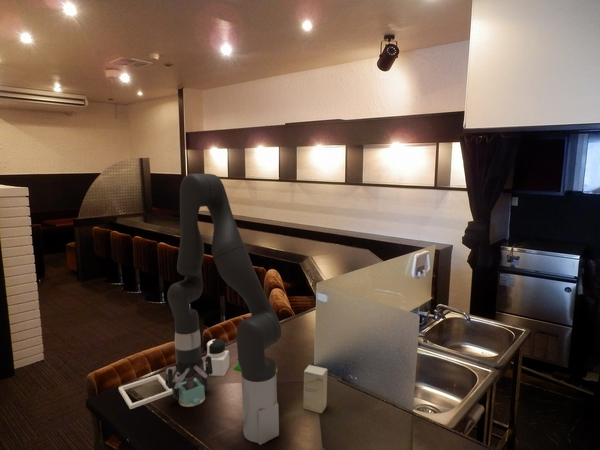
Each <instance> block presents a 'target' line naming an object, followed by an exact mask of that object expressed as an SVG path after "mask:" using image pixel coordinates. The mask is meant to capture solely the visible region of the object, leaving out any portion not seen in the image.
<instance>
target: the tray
mask: <svg viewBox="0 0 600 450" xmlns="http://www.w3.org/2000/svg"><path fill="white" fill-rule="evenodd" d="M155 380H156V381H158V382H159V384H161V386H162V387H163V389H165V391H163V392H160V393H157V394H154V395H153V396H149V397H145V398H144V399H141V400H138V401H135V402H132V400H131V399H130V397H129V396H128V395H129V394H127V392H126V391H125V390H130V389H132V388H135V387H138V386H141V385H144V384H147V383H150V382H153V381H155ZM118 392H119V393H120V395H121V396H122V398H123V399H124V401H125V403H126V405H127V407H128V408H129V409H130V410H132V409H136V408H137V407H141V406H143V405H146V404H149V403H151V402H154V401H157V400H159V399H162V398H165V397H168V396H171V395H173V392H172V388H171V389H169V388H168V387H167V386H166V384H165V379H164V378H163V377H162V376H161V375H160V374H156V375H152V376H149V377H146V378H142V379H139V380H137V381H134V382H131V383H127V384H124V385H121V386H118Z"/></svg>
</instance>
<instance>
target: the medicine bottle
mask: <svg viewBox="0 0 600 450" xmlns="http://www.w3.org/2000/svg"><path fill="white" fill-rule="evenodd" d="M225 345H226V341H224V340H223V339H222V338H221V339H220V338H214V339H211V340H209V341H208V342H207V343H206V348H207V351H206V352H207V353H206V354H207V355H209V356H210V357H211V361H212V371H213V373H212V374H211V375H210V374H209V375H208V376H212V377H213V376H215V377H218V376H219V377H224V376H225V375H226V373H227V372H228V370H229V368H230V351H229V350H226V346H225ZM205 370H206V367H205V363H204V362H203V371H205Z"/></svg>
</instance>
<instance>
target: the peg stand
mask: <svg viewBox="0 0 600 450" xmlns="http://www.w3.org/2000/svg"><path fill="white" fill-rule="evenodd" d="M194 378H195V375H191V376H189V377H187V378H186V377H185V378H184V380H185V381H186V387H187V390H189V389H192V388H194ZM205 399H206V397H205V398H204V399H201V400H200V404H202V403H203V402H204V401H205ZM178 404H179V405H180V406H182V407H187V408H191V407H195V406H197V405H195V406H194V405H193V403H191V404H189V405H186V406H185V405H184V404H183V403H182V402H181V401H180V400H179V399H178Z"/></svg>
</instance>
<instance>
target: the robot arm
mask: <svg viewBox="0 0 600 450" xmlns="http://www.w3.org/2000/svg"><path fill="white" fill-rule="evenodd" d="M201 207H202V208H204V207H206V208H207V210H208V212H209V214H210V218H211V221H212V224H213V225H212V226H213V233H212V240H211V255H212V258H213V261H214V264H215V266H216V268H217V271H218V273H219V276H220V277H221V279H223V280H224V282H225V283H226V284H227V285H228V286H229V287H230V288H232V290H234V291H235V292H236V293H238V295H239V296H240V297H242V299H243V300H244V302H245V304H246V305H247V307H248V310H249V313H250V315H251V316H250V317H248V318H245V319H243V320H241V321H240V322H239V323H238V325H237V328H236V334H235V335H236V347H237V359H238V364H239V365H240V367H241V370H242V372H241V387H242V388H241V392H242V393H241V395H242V397H241V398H242V423H243V425H242V428H243V436H244V438H245V439H246V440H247V441H249V442H252V443H257V444H258V445H259V446H262V444H266V443H267V442H268V441H270V440H272V439H275V438H276V437H279V436H280V426H279V424H280V420H279V419H280V418H279V416H280V415H279V414H280V413H279V409H280V408H279V402H278V400H277V394H278V393H277V373H276V366H277V364H276V362H275V360H274V359H273V358H272V357H269V356H266V355H265V353H266V352H265V350H266V349H268V348H270V347H272V346H274V345H276V343H278V342H279V341H280V339H281V337H282V326H281V322H280V320H279V317H278V315H277V313H276V312H275V309H274V308H273V305H272V304H271V302H270V301H269V299H268V297H267V294H266V293H265V290H264V288H263V286H262V284H261V282H260V280H259V277H258V275H257V273H256V271H255V268H254V265H253V263H252V260H251V257H250V255H249V253H248V251H247V247H246V245H245V243H244V241H243V239H242V236H241V234H240V231H239V229H238V226H237V223H236V220H235V218H234V215H233V211H232V209H231V205H230V202H229V198H228V195H227V192H226V188H225V185H224V183H223V182H222V179H220V177H219V176H218V175H216V174H214V173H189V174H186V175H185V176H184V178H182V181H181V184H180V188H179V226H180V238H179V248H178V256H177V261H176V262H177V263H176V271H177V273H178V274H180V275H181V276H184V279H183V280H182V279H181V280H180V281H178V282H175V283H172V284H171V285H170V286H169V288H168V290H167V294H166V295H167V296H166V298H167V302H168V305H169V307H170V311H171V312H172V316H173V318H174V347H175V350H174V351H175V364H174V365H175V366H166V367H165V379H164V381H165V384H166V386H167V387H168V388H169V389H172V392H173V394H172V396H173V398H174V399H176V400H179V387H178V386H179V385H180V383H182V382H184V380H185V378H187V377H189V376H192V375H194V376H195V375H196V374H197V373H198V374H199V375H200V376H199V377H200V378H199V379H200V380H199V382H200V383H201V384H202V385H204V390H206V389H207V386H208V376H212V375H211V374H212V373H213V371H212V361H211V357H210V356H209V355H207V353H206V354H205V355H204V356H202V345H201V344H202V343H201V331H200V321H199V313H198V311H197V310H196V309H193V308H189V306H188V305H189V304H190V303H192V302H195V301H197V300H198V299H199V298H200V297H201V296H202V294H203V290H204V281H203V273H202V266H203V262H204V261H203V260H204V253H205V244H204V240H203V237H202V234H201V232H200V229H199V224H198V222H199V221H198V220H199V218H198V217H199V213H200V208H201ZM204 363H205V367H206V370H205V371H204V370H202V368H201V366H202V364H204ZM175 372H176V373H175ZM209 374H210V375H209ZM173 375H174V378H173Z"/></svg>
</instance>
